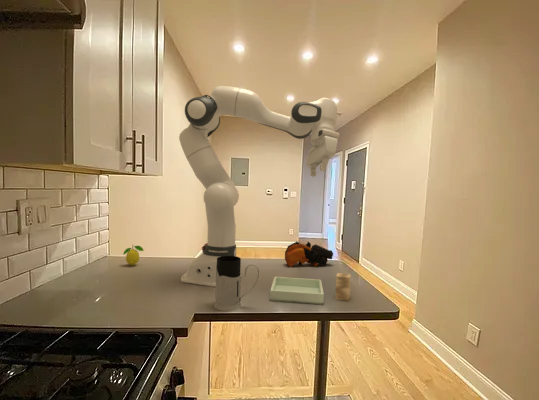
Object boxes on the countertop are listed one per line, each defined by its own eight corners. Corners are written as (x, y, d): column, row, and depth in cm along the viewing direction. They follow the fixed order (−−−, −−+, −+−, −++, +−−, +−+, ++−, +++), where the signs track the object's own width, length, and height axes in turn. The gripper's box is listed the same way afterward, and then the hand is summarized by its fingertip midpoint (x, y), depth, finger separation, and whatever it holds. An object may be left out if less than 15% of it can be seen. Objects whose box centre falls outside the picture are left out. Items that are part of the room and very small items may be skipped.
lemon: (143, 265, 138) (143, 243, 138) (133, 268, 133) (133, 245, 132) (132, 263, 141) (132, 242, 140) (122, 266, 135) (122, 244, 135)
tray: (270, 300, 100) (270, 290, 100) (274, 285, 116) (274, 276, 115) (323, 304, 98) (323, 294, 98) (320, 288, 114) (320, 279, 114)
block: (335, 299, 104) (336, 276, 103) (336, 294, 108) (337, 272, 108) (348, 301, 102) (349, 277, 102) (349, 296, 107) (350, 274, 106)
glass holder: (218, 298, 100) (219, 254, 100) (260, 302, 98) (261, 257, 98) (209, 309, 92) (210, 261, 91) (255, 313, 90) (257, 264, 89)
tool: (324, 282, 145) (336, 253, 145) (282, 265, 141) (295, 235, 141) (318, 276, 153) (330, 249, 153) (278, 260, 149) (291, 232, 149)
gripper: (305, 145, 125) (300, 177, 123) (325, 127, 106) (320, 164, 103) (319, 149, 127) (314, 180, 124) (341, 132, 107) (337, 168, 105)
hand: (317, 173), depth 114 cm, fingers open, 8 cm apart
